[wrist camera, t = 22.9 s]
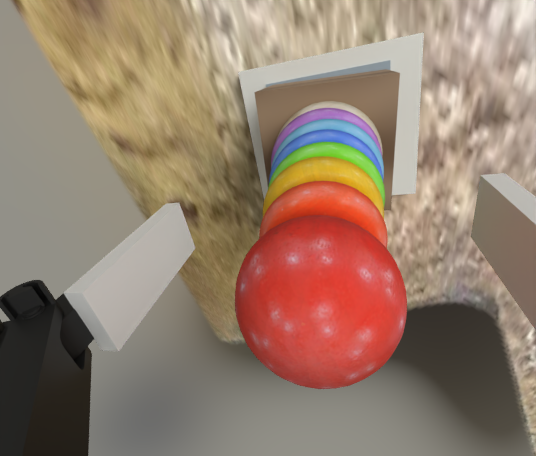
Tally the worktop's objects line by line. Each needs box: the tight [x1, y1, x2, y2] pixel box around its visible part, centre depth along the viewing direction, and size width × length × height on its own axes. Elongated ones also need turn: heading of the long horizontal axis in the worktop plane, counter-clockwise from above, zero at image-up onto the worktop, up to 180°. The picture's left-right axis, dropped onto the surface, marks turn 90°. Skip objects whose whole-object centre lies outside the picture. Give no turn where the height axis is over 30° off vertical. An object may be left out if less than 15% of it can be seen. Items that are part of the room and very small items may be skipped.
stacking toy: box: [235, 101, 407, 389], centre depth 15 cm, size 8×8×19 cm
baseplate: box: [238, 32, 424, 200], centre depth 30 cm, size 14×16×2 cm
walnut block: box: [254, 69, 400, 210], centre depth 26 cm, size 10×10×7 cm
